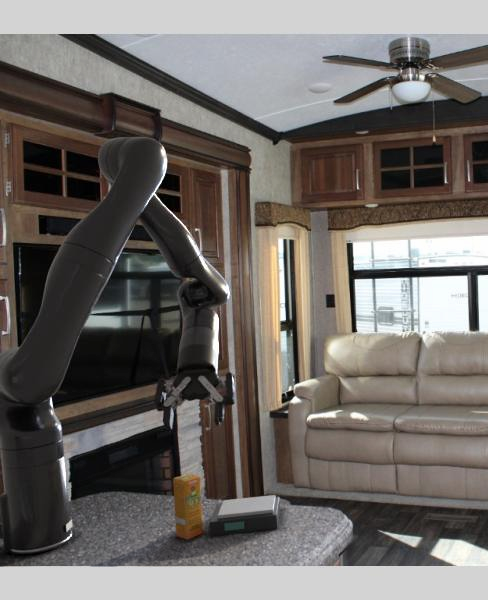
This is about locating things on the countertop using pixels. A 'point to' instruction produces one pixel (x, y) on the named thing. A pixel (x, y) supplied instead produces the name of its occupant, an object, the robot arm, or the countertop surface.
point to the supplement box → (188, 506)
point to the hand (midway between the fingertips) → (193, 425)
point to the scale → (245, 515)
